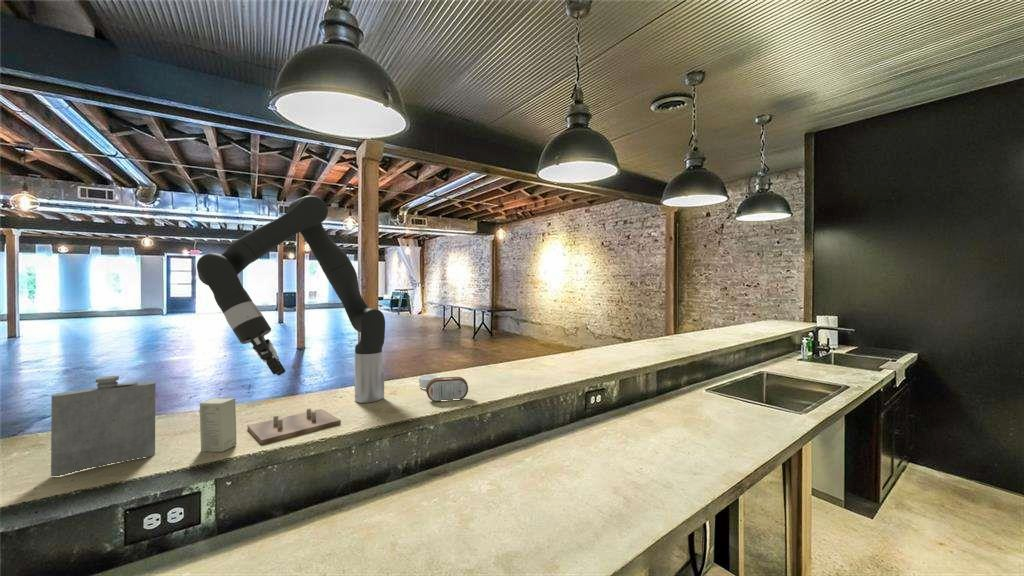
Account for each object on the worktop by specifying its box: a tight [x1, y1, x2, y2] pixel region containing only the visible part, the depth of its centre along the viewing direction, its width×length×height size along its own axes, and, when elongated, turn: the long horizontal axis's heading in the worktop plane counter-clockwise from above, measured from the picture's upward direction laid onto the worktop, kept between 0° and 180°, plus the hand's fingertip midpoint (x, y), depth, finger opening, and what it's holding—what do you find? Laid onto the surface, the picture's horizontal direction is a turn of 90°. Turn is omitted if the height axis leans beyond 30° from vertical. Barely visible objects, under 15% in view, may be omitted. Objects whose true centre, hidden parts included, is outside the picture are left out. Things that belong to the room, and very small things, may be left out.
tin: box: [425, 376, 469, 402], centre depth 132 cm, size 15×3×8 cm, turn 106°
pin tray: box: [247, 408, 342, 446], centre depth 107 cm, size 20×15×4 cm
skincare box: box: [199, 397, 238, 453], centre depth 92 cm, size 6×4×12 cm
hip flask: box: [50, 375, 156, 477], centre depth 84 cm, size 16×4×20 cm, turn 133°
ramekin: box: [418, 374, 441, 388], centre depth 150 cm, size 9×9×4 cm
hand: (280, 373), depth 99 cm, fingers open, 8 cm apart
